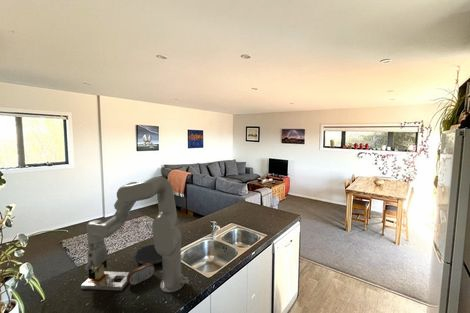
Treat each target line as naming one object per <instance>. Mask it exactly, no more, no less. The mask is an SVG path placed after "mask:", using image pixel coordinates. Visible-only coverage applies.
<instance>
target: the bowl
mask: <svg viewBox="0 0 470 313" xmlns="http://www.w3.org/2000/svg"><path fill="white" fill-rule="evenodd" d="M133 258H134V261H136V262H137V263H138V264H141V266H142V265H145V264H147V263H152V264H153V265H156V264H160V263H163V262H162V256H161V255H159V254H158V253H157V251H156V249H155V246H154V244H147V245H145V246H142V247H140V248H138V249H137V250H136V252H135V254H134V257H133Z"/></svg>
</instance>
